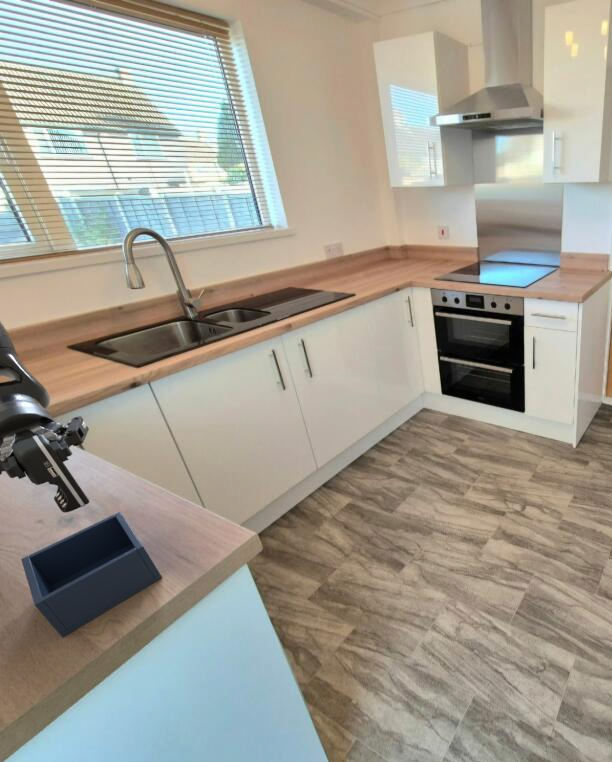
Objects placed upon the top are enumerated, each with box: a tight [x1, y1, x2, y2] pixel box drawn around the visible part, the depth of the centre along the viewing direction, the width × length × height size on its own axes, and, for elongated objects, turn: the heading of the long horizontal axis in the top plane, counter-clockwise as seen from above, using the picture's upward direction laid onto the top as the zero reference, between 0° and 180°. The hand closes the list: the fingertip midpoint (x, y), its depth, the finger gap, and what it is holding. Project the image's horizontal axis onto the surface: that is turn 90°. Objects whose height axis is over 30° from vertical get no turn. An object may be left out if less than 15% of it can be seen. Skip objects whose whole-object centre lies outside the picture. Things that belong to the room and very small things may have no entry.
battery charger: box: [13, 435, 90, 514], centre depth 64 cm, size 7×4×11 cm, turn 54°
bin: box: [21, 511, 163, 638], centre depth 64 cm, size 12×13×7 cm
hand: (40, 463), depth 61 cm, fingers closed on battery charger, 4 cm apart
